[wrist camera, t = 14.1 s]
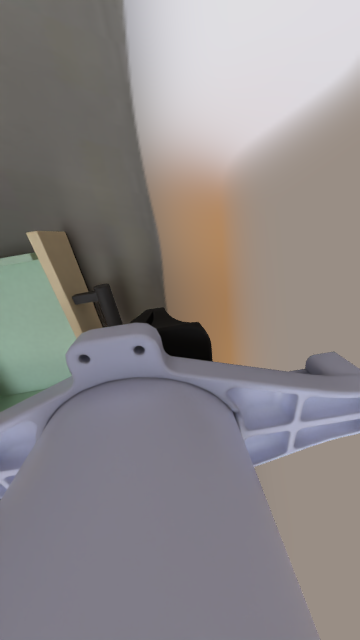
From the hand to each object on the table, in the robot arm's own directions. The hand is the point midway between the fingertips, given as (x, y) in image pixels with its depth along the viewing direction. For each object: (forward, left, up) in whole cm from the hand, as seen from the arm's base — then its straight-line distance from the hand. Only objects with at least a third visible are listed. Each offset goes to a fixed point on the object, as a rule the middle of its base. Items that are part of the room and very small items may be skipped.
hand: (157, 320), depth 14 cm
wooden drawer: (0, -10, -2) cm, 10 cm away
